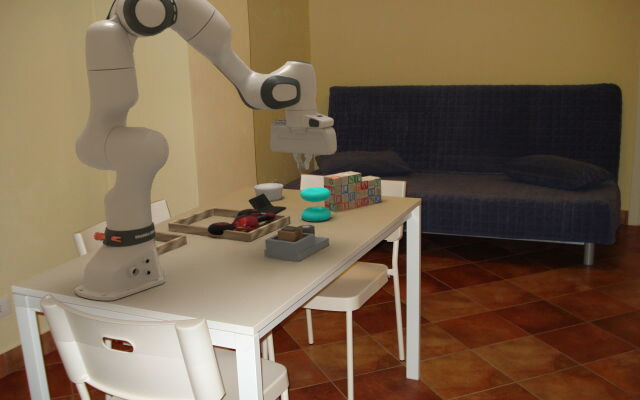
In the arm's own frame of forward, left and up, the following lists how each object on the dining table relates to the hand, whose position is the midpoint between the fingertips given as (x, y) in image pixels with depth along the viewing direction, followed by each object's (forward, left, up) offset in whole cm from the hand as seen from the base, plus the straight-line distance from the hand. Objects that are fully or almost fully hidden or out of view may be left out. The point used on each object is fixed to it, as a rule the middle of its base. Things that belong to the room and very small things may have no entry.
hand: (303, 169), depth 185 cm
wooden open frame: (+8, +34, -23) cm, 42 cm away
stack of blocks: (+49, +10, -23) cm, 55 cm away
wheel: (0, 0, -20) cm, 20 cm away
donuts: (+28, +13, -23) cm, 39 cm away
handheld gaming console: (+30, +34, -23) cm, 51 cm away
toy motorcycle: (+8, +27, -23) cm, 36 cm away
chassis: (-5, 0, -23) cm, 23 cm away
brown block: (-8, 0, -21) cm, 22 cm away
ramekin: (+47, +45, -23) cm, 69 cm away
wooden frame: (-20, +44, -23) cm, 53 cm away
